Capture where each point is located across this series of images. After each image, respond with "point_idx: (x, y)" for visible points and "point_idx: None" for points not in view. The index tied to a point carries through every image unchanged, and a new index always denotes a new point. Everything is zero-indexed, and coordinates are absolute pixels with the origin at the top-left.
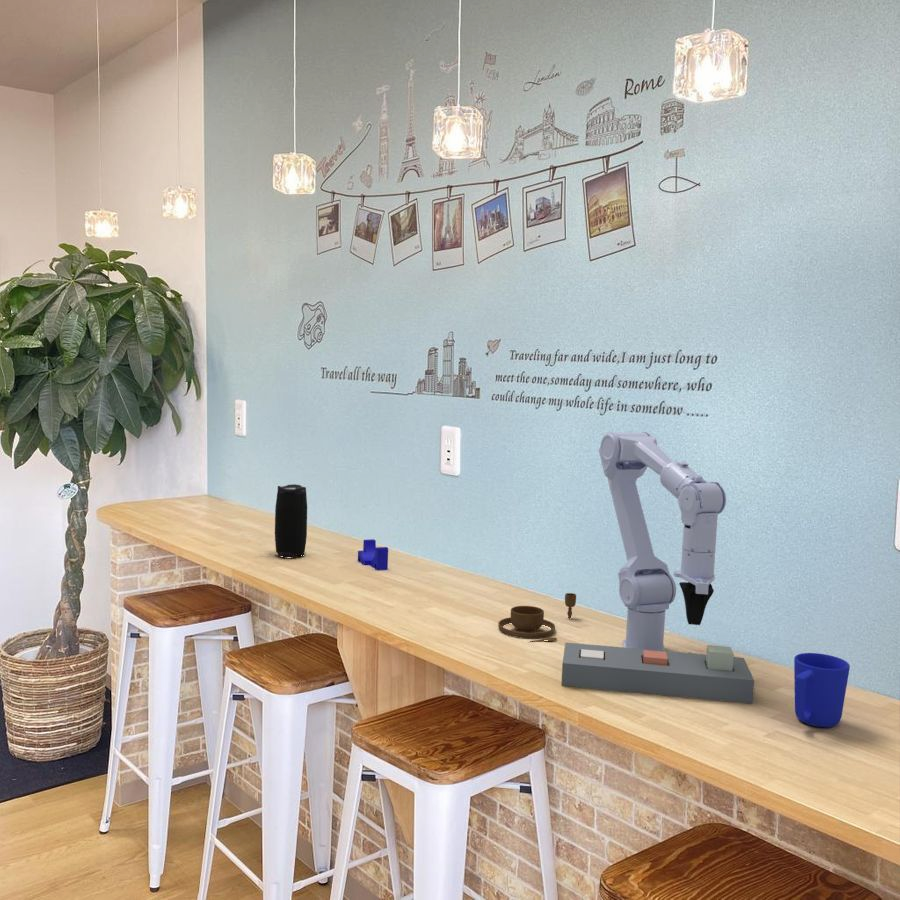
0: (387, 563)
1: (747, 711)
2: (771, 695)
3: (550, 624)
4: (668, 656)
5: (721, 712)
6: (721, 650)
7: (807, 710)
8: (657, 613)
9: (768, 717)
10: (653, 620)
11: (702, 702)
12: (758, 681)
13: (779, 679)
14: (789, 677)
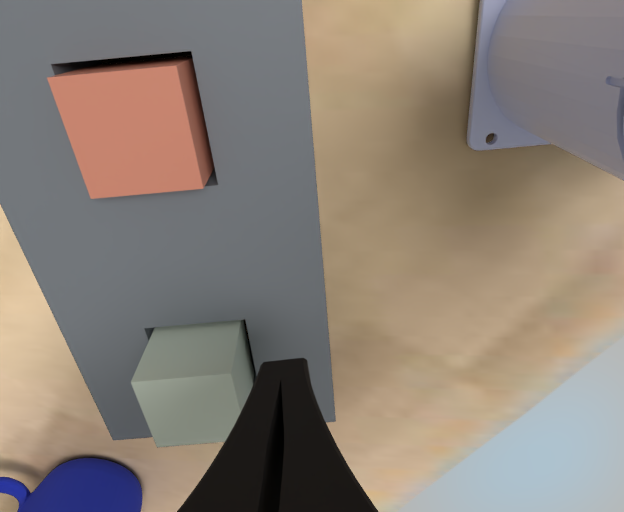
0: None
1: (66, 372)
2: None
3: None
4: (233, 189)
5: (9, 317)
6: (178, 415)
7: (21, 503)
8: (621, 159)
9: (55, 409)
10: (584, 122)
11: None
12: None
13: (363, 436)
14: (386, 453)
